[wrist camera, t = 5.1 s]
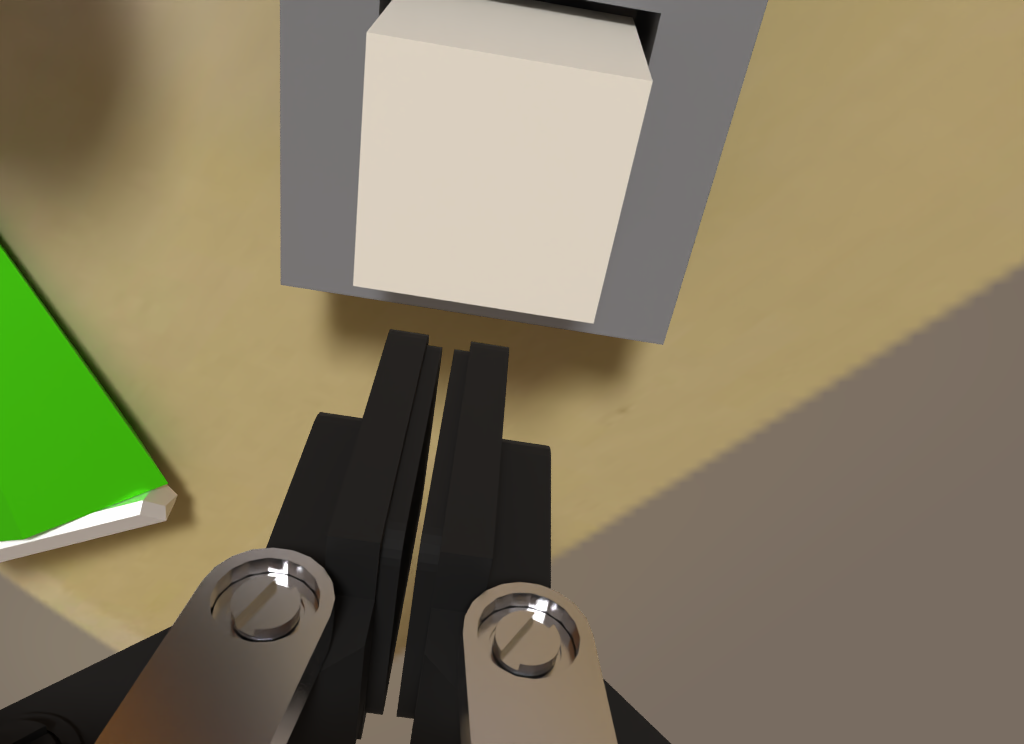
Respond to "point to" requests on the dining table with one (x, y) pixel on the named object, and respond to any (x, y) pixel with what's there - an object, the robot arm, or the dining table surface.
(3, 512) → the green triangular piece
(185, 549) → the dining table surface
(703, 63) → the key panel
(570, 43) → the cream key
